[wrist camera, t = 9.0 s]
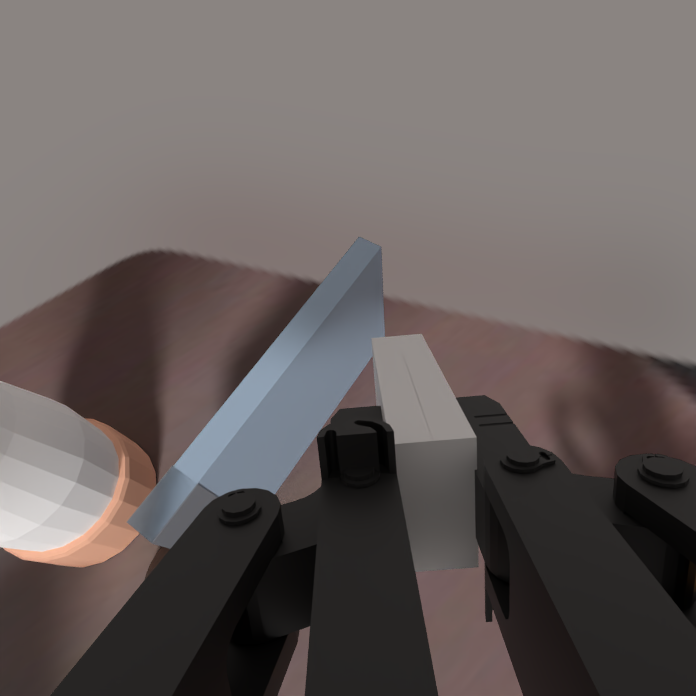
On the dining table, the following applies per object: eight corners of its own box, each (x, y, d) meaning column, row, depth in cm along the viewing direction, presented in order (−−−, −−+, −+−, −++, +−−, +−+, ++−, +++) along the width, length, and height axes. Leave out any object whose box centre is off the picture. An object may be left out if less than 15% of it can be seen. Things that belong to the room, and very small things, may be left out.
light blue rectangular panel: (225, 565, 25) (152, 543, 17) (206, 549, 25) (126, 522, 18) (385, 338, 30) (382, 247, 23) (367, 329, 30) (358, 236, 23)
